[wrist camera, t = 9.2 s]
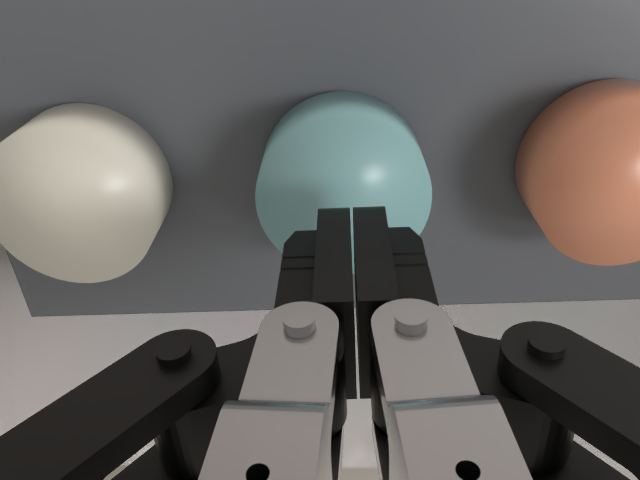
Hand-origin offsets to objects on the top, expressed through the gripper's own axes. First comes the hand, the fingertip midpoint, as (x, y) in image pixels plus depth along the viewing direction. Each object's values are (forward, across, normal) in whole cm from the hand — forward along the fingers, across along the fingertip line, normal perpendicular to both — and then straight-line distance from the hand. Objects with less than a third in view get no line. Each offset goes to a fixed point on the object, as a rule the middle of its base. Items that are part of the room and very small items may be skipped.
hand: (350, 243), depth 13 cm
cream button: (+3, +7, 0) cm, 8 cm away
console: (+7, 0, 0) cm, 7 cm away
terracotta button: (+4, -7, 0) cm, 8 cm away
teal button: (+4, 0, 0) cm, 4 cm away
